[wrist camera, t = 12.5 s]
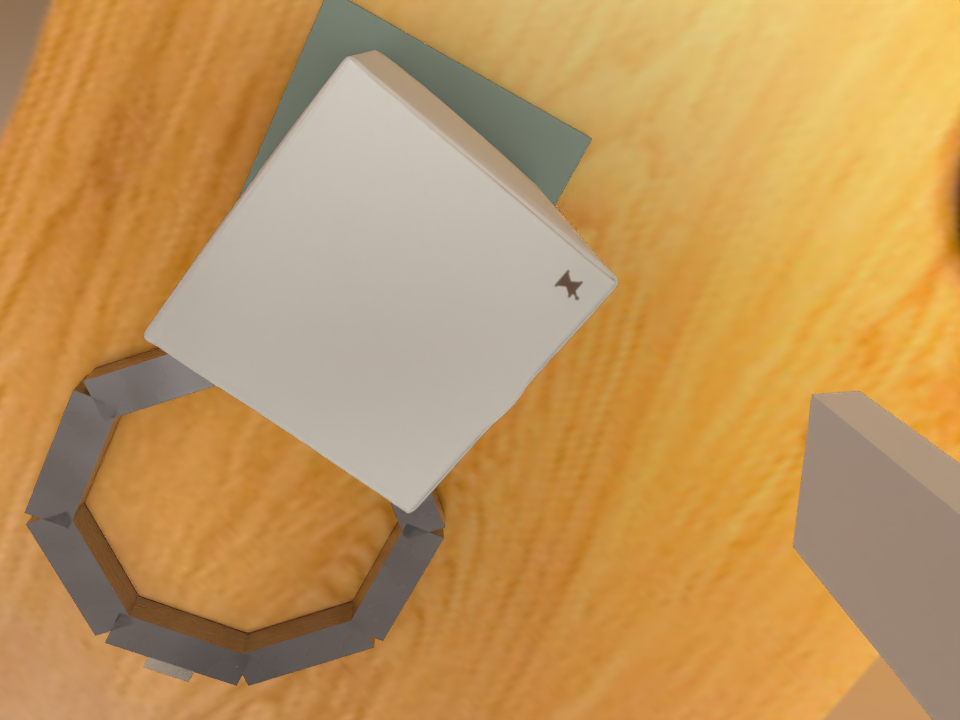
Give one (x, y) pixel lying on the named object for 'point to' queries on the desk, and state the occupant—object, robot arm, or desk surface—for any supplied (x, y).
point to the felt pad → (481, 103)
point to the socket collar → (167, 631)
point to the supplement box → (383, 284)
